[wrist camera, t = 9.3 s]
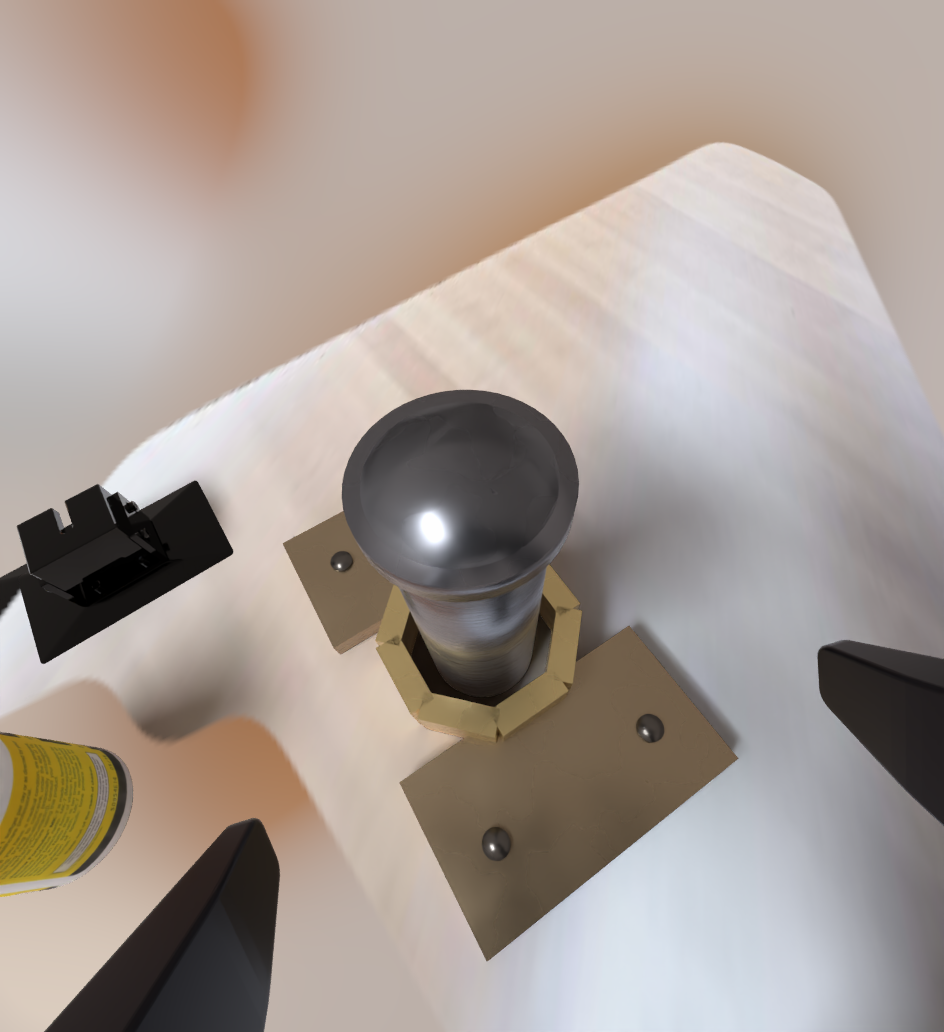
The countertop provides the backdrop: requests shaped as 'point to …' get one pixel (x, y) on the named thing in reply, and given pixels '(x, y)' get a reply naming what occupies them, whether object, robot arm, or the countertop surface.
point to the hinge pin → (465, 525)
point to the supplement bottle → (57, 811)
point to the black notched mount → (108, 561)
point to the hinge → (524, 746)
